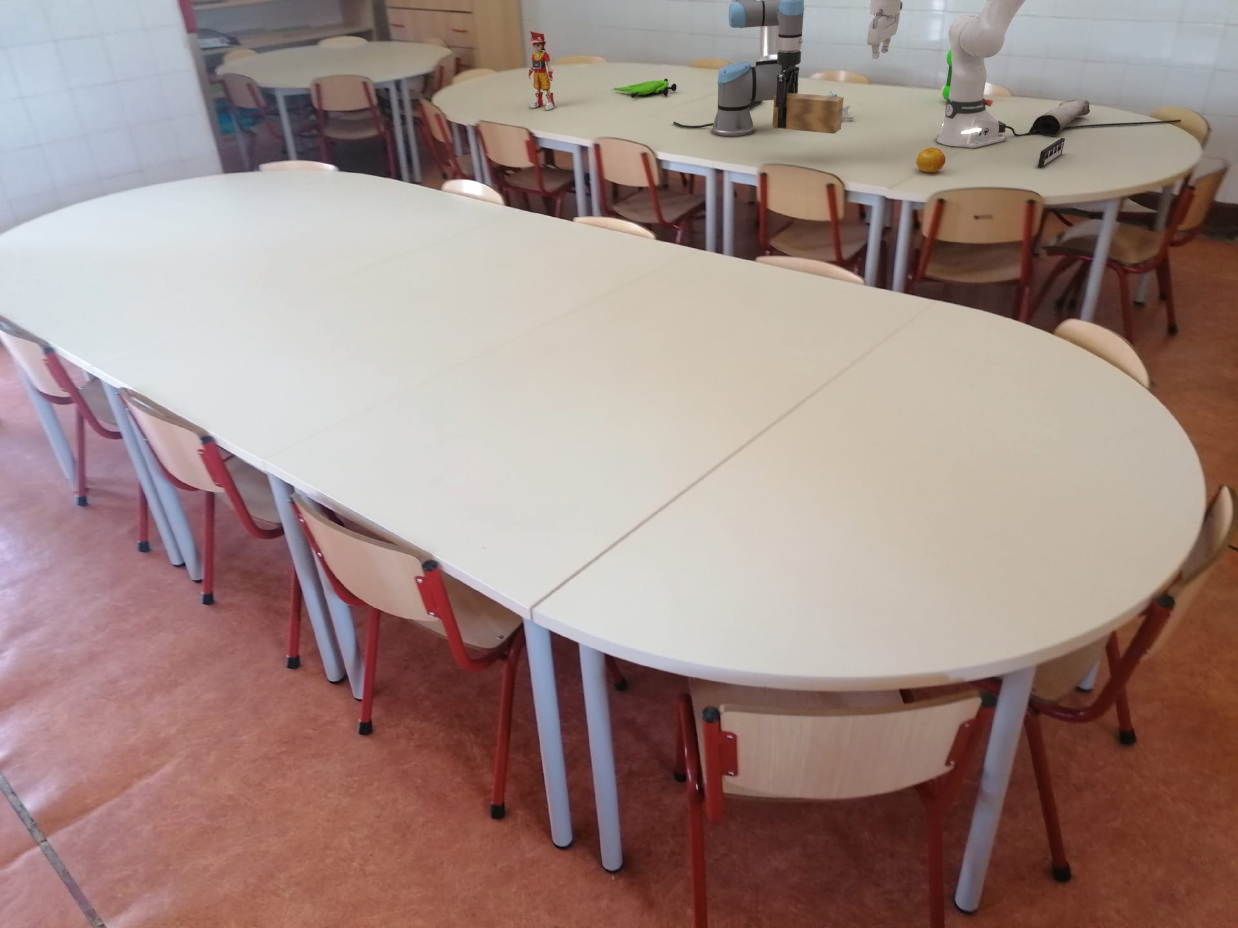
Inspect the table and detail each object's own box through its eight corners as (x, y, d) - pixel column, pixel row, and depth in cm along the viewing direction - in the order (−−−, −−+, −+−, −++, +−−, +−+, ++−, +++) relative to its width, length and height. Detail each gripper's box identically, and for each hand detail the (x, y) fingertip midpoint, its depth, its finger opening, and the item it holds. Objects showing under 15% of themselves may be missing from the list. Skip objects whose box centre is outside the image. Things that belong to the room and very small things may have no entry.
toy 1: (525, 109, 381) (517, 32, 364) (534, 104, 388) (527, 28, 371) (550, 110, 377) (543, 32, 360) (559, 105, 384) (553, 28, 367)
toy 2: (686, 85, 398) (631, 84, 414) (685, 72, 395) (629, 72, 411) (651, 104, 381) (596, 103, 397) (650, 92, 378) (594, 91, 394)
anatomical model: (816, 90, 346) (842, 83, 346) (819, 117, 352) (844, 110, 352) (827, 99, 334) (853, 92, 333) (830, 127, 340) (856, 120, 339)
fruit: (910, 163, 282) (927, 140, 279) (912, 165, 290) (928, 143, 287) (933, 178, 281) (950, 155, 278) (933, 180, 289) (950, 157, 286)
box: (772, 128, 300) (773, 96, 294) (779, 123, 304) (781, 92, 299) (834, 134, 291) (837, 101, 285) (840, 129, 295) (843, 97, 289)
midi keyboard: (1041, 167, 283) (1045, 151, 280) (1037, 167, 283) (1040, 151, 280) (1062, 154, 293) (1065, 138, 290) (1057, 153, 294) (1061, 137, 291)
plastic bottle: (973, 101, 354) (984, 32, 339) (955, 106, 349) (966, 36, 335) (952, 97, 361) (962, 29, 346) (934, 102, 356) (944, 33, 342)
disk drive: (747, 111, 360) (763, 102, 370) (747, 104, 359) (763, 95, 369) (724, 109, 365) (740, 100, 375) (724, 101, 363) (740, 93, 373)
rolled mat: (1057, 104, 331) (1081, 87, 323) (1070, 125, 332) (1095, 108, 324) (1024, 126, 314) (1049, 109, 306) (1039, 148, 314) (1064, 131, 306)
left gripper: (789, 57, 279) (785, 133, 292) (811, 45, 292) (806, 119, 305) (766, 56, 282) (763, 131, 295) (789, 44, 295) (785, 117, 309)
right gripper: (885, 13, 269) (879, 62, 277) (904, 2, 283) (899, 50, 291) (864, 12, 272) (860, 61, 280) (884, 2, 286) (879, 49, 294)
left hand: (785, 125), depth 300 cm, fingers closed on box, 6 cm apart
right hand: (880, 55), depth 286 cm, fingers open, 8 cm apart
